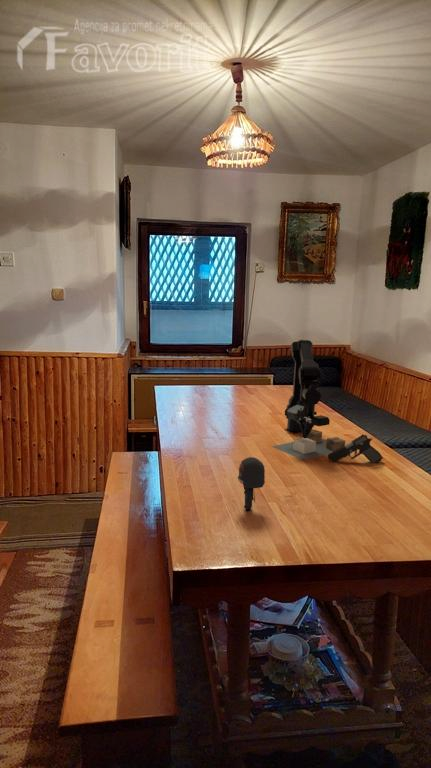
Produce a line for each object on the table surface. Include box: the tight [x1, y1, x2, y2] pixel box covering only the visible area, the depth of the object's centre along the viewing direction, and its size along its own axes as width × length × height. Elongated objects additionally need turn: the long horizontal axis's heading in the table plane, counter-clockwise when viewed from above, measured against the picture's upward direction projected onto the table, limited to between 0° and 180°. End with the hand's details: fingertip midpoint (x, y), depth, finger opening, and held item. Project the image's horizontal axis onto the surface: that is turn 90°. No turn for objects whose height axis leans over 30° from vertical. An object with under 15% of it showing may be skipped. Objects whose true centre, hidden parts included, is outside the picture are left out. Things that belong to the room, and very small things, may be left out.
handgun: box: [327, 434, 383, 464], centre depth 181 cm, size 17×2×12 cm
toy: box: [237, 456, 266, 512], centre depth 139 cm, size 9×8×15 cm
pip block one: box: [307, 428, 323, 443], centre depth 204 cm, size 5×5×4 cm
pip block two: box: [326, 436, 346, 452], centre depth 195 cm, size 5×5×4 cm
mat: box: [271, 438, 333, 461], centre depth 196 cm, size 18×26×1 cm
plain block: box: [292, 437, 316, 454], centre depth 192 cm, size 6×6×4 cm
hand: (304, 438), depth 191 cm, fingers closed
